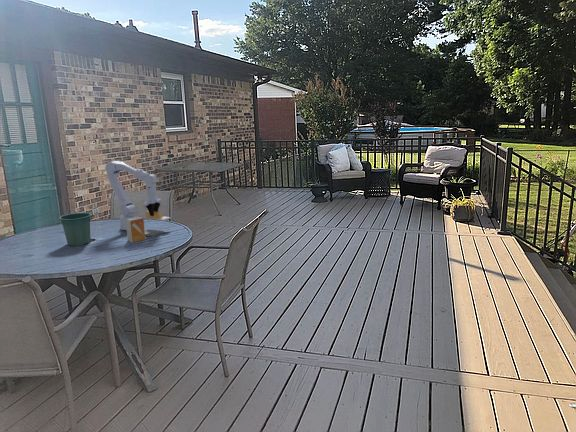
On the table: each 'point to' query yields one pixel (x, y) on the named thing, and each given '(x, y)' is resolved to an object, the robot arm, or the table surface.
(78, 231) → the flower pot
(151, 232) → the tool board
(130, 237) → the small box
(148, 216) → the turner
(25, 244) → the table surface
